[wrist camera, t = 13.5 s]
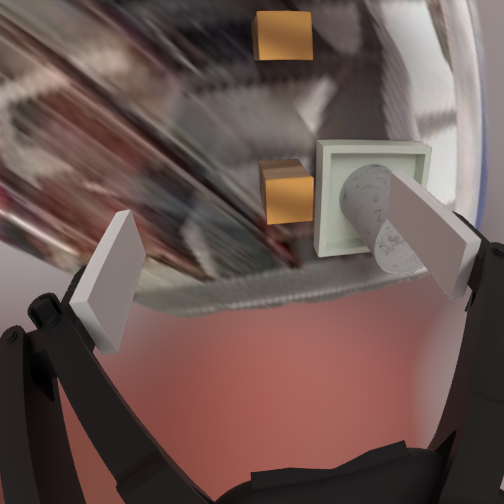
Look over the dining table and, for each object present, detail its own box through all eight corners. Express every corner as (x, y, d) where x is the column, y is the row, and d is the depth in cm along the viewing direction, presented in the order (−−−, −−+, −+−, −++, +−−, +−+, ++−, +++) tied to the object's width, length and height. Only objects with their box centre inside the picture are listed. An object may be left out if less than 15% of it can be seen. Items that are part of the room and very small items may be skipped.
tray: (316, 139, 39) (323, 145, 37) (420, 141, 40) (431, 147, 37) (313, 246, 48) (318, 257, 45) (406, 237, 49) (414, 247, 46)
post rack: (250, 21, 30) (256, 11, 24) (294, 20, 31) (310, 12, 24) (259, 197, 43) (267, 224, 37) (298, 194, 43) (312, 220, 37)
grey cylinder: (367, 150, 40) (413, 185, 29) (410, 187, 43) (457, 228, 33) (325, 205, 44) (357, 254, 33) (371, 235, 47) (408, 286, 37)
